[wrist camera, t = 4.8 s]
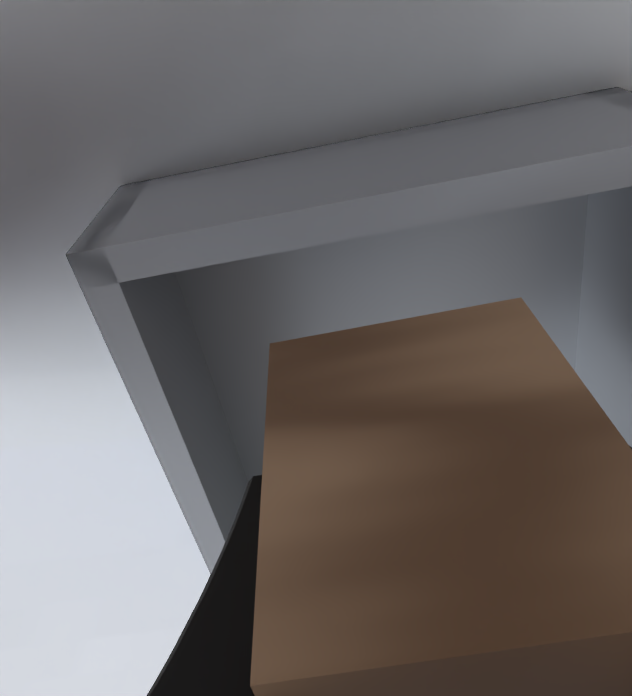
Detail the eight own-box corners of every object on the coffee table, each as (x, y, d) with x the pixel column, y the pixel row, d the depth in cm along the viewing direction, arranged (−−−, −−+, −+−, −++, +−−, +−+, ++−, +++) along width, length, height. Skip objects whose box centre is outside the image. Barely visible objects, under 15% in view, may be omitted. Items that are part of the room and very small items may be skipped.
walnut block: (316, 512, 13) (333, 859, 8) (269, 343, 10) (250, 685, 5) (520, 478, 13) (677, 818, 7) (520, 297, 10) (751, 615, 5)
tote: (270, 590, 25) (267, 699, 21) (120, 186, 15) (65, 254, 12) (574, 545, 24) (626, 650, 20) (617, 87, 15) (732, 126, 11)
